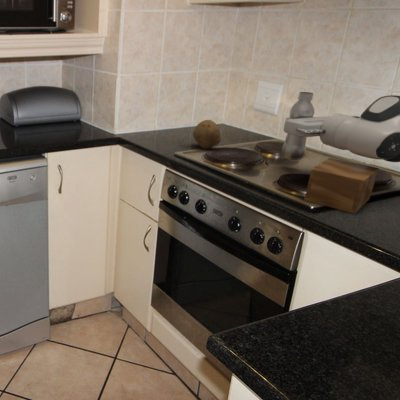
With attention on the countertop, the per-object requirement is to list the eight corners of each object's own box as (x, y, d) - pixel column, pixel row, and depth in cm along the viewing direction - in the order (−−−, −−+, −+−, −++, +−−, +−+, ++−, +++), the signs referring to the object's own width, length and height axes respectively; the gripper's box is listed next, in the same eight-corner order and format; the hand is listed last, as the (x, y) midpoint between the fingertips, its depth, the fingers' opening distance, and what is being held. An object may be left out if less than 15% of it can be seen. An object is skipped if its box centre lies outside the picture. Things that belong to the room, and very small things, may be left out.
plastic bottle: (307, 160, 144) (323, 93, 137) (295, 163, 141) (311, 95, 133) (287, 154, 149) (301, 90, 142) (275, 158, 146) (289, 92, 138)
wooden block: (321, 187, 132) (329, 157, 129) (369, 199, 125) (378, 168, 122) (303, 200, 124) (311, 168, 120) (354, 213, 116) (364, 180, 113)
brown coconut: (187, 144, 171) (190, 117, 167) (210, 144, 171) (215, 116, 168) (197, 152, 162) (201, 123, 158) (222, 151, 163) (227, 122, 159)
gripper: (304, 144, 127) (267, 132, 140) (362, 139, 133) (321, 127, 145) (310, 121, 125) (271, 110, 137) (368, 117, 131) (326, 107, 143)
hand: (297, 119), depth 141 cm, fingers closed on plastic bottle, 6 cm apart
